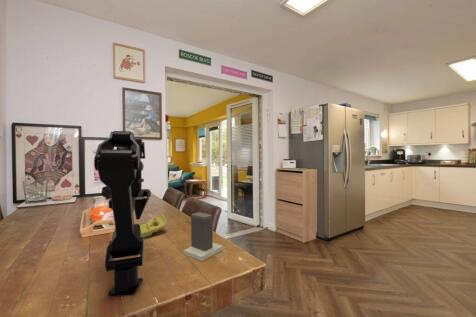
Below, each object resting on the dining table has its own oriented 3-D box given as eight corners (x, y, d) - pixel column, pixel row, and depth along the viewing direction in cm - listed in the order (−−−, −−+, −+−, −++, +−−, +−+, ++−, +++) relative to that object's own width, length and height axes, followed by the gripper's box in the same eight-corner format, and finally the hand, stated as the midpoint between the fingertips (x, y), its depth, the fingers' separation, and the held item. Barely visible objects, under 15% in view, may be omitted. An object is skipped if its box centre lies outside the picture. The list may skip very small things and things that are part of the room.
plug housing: (204, 251, 76) (204, 217, 76) (191, 246, 80) (191, 214, 80) (212, 247, 79) (212, 215, 79) (199, 243, 83) (199, 212, 83)
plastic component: (122, 239, 86) (115, 223, 92) (122, 252, 89) (115, 236, 95) (169, 224, 99) (160, 211, 106) (167, 236, 102) (159, 223, 108)
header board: (201, 261, 72) (201, 249, 72) (183, 253, 78) (183, 242, 78) (223, 249, 81) (222, 239, 81) (205, 243, 86) (205, 233, 86)
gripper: (120, 174, 80) (120, 216, 80) (89, 179, 61) (89, 234, 61) (151, 174, 81) (151, 215, 81) (129, 179, 62) (129, 233, 62)
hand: (132, 223), depth 71 cm, fingers open, 9 cm apart
